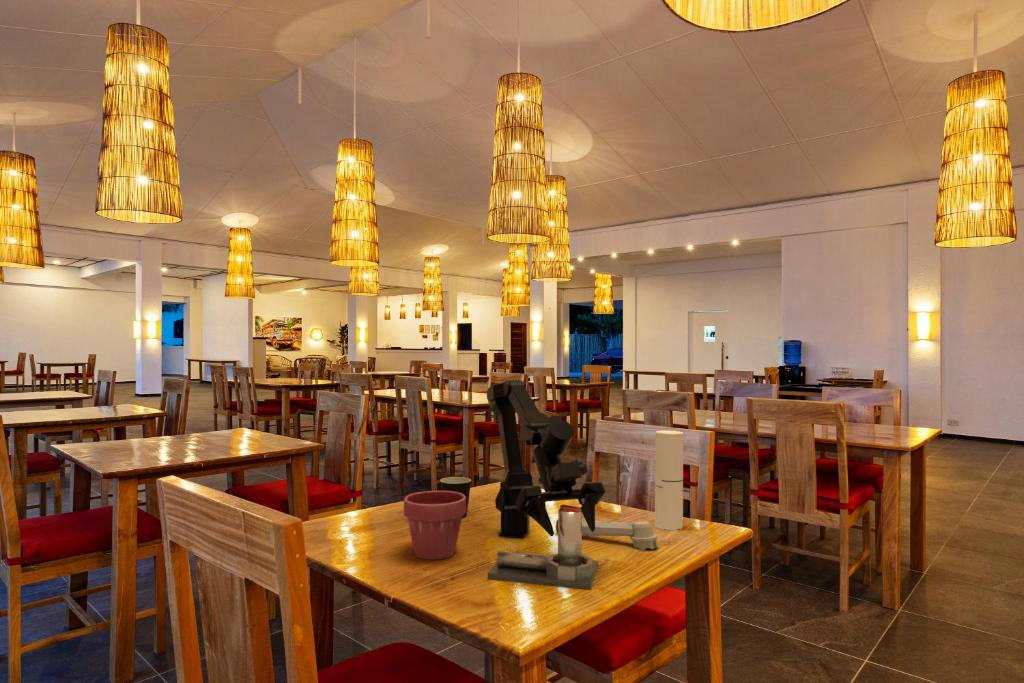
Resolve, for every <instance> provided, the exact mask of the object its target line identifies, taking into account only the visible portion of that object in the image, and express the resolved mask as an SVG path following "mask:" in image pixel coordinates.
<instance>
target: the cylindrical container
mask: <svg viewBox="0 0 1024 683" xmlns="http://www.w3.org/2000/svg"><path fill="white" fill-rule="evenodd" d="M654 454H655V466H654V467H655V470H654V471H655V472H654V474H655V476H654V480H655V481H654V486H655V487H654V488H655V489H654V491H655V492H654V497H655V498H654V527H656V528H657V527H658V528H657V529H660V528H661V529H660V530H664V529H666V531H677V530H676V529H680V530H682V529H683V528H684V527H683V526H684V525H683V524H684V522H683V521H684V519H683V516H684V514H683V512H684V511H683V510H684V484H683V483H684V432H683V431H678V430H669V429H668V430H666V429H665V430H663V429H662V430H656V431H655V453H654ZM682 527H683V528H682ZM681 528H682V529H681Z"/></svg>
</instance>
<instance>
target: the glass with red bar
mask: <svg viewBox="0 0 1024 683" xmlns="http://www.w3.org/2000/svg"><path fill="white" fill-rule="evenodd" d="M580 508H581V506H579V507H578V506H574V505H573V506H572V505H567V504H561V505H560V506H559V508H558V515H557V516H558V517H557V520H558V533H557V554H558V561H557V562H556V563H557V564H559V565H564V566H574V567H575V566H580V565H583V563H582V554H583V552H582V546H583V545H582V544H583V543H582V542H583V538H582V537H583V536H582V520H583V514H582V510H581V509H580Z"/></svg>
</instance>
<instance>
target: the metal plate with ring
mask: <svg viewBox="0 0 1024 683" xmlns="http://www.w3.org/2000/svg"><path fill="white" fill-rule="evenodd" d="M557 561H558V553H554V554H543V553H542V554H539V553H528V552H518V551H516V552H515V551H509V550H508V551H507V550H498V552H497V556H496V562H495V563H494V565H492V566H491V568H490V569H489V571H487V579H488V580H495V581H496V580H497V581H503V582H513V581H514V583H522V582H523V583H522V584H532V583H533V585H541V584H544V585H543V586H552V587H562V588H571V589H572V588H573V589H578V590H579V589H582V590H592V587H593V584H594V581H595V577H596V573H597V570H598V567H599V560H595V559H594V558H593V557H590V556H587V555H586V554H584V553H582V563H583V565H580V566H575V567H574V566H564V565H559V564H557V563H556V562H557Z"/></svg>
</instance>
